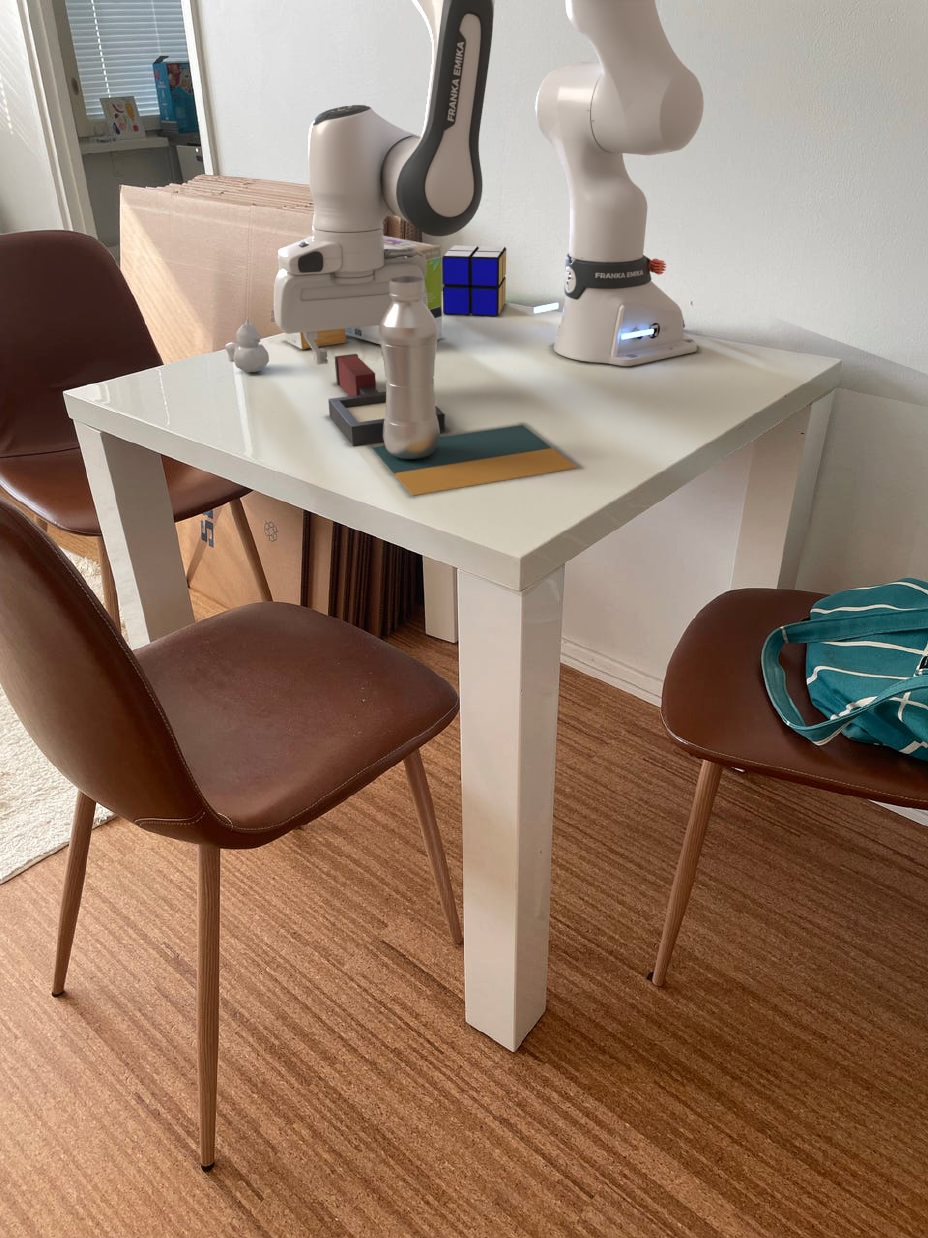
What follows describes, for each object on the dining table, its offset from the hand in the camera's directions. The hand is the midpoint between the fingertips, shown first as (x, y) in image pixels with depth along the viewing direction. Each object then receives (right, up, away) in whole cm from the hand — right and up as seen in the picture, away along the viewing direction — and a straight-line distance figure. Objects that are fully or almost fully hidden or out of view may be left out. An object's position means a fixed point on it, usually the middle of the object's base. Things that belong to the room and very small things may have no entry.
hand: (355, 359), depth 126 cm
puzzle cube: (+17, +21, +44) cm, 52 cm away
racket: (+2, -7, -1) cm, 7 cm away
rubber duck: (-17, +2, +13) cm, 22 cm away
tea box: (+3, +11, +28) cm, 31 cm away
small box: (-9, +10, +26) cm, 29 cm away
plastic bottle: (+9, -16, -15) cm, 23 cm away
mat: (+16, -16, -16) cm, 27 cm away
